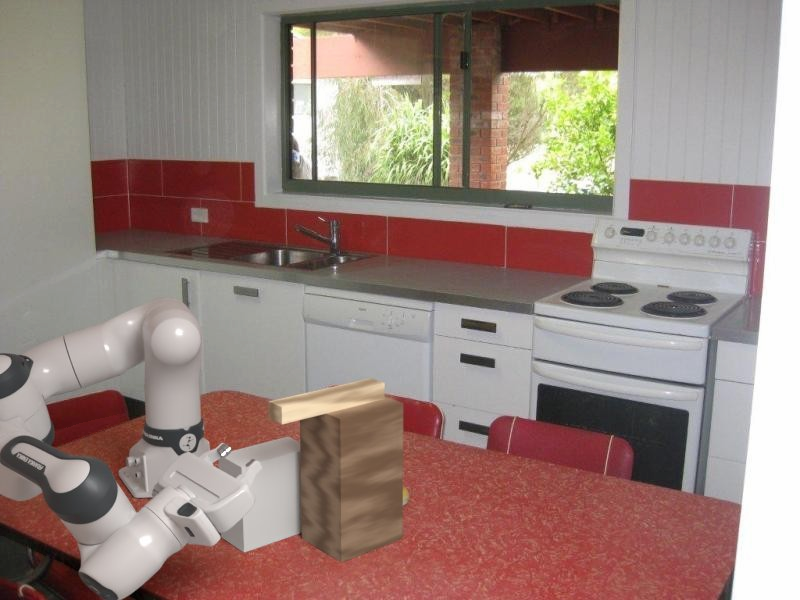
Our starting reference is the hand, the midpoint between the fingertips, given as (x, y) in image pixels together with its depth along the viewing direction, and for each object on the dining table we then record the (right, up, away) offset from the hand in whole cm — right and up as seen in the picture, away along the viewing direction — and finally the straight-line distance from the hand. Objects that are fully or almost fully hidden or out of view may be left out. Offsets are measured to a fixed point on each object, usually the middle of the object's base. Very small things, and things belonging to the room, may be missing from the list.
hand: (242, 454), depth 151 cm
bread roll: (+23, -16, +36) cm, 46 cm away
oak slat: (+13, +6, +11) cm, 18 cm away
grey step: (+1, -18, +21) cm, 28 cm away
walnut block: (+17, -19, +19) cm, 31 cm away
